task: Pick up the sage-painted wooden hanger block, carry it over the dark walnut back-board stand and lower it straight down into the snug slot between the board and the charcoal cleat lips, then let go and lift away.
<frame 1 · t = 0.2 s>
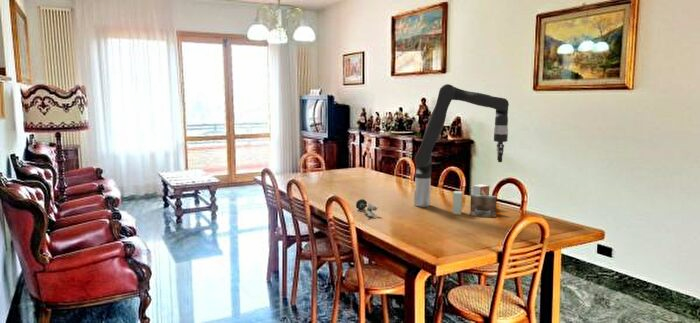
hand: (499, 161, 274), 29 cm above the table, tool pointing down, fingers open, 8 cm apart
hanger block: (457, 212, 271), on the table
small box: (480, 207, 287), on the table
artificial flower: (367, 214, 270), on the table
cleat stand: (482, 214, 267), on the table
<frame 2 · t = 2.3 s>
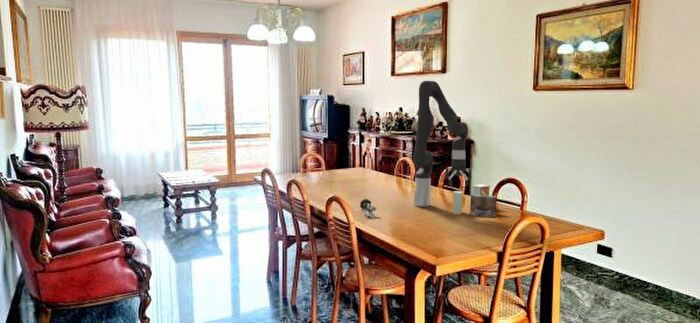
hand: (458, 186, 269), 15 cm above the table, tool pointing down, fingers open, 8 cm apart
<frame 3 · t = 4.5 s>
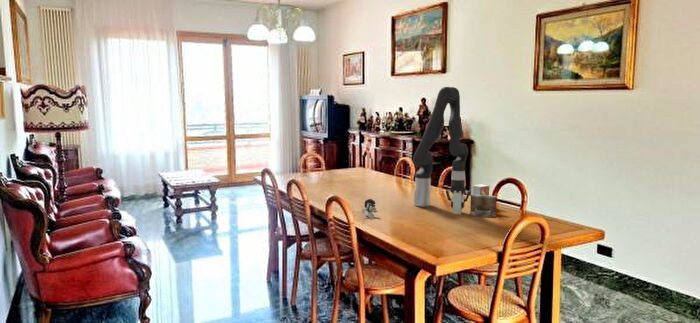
hand: (457, 207, 271), 3 cm above the table, tool pointing down, fingers closed on hanger block, 4 cm apart
hanger block: (457, 212, 271), on the table, touching gripper
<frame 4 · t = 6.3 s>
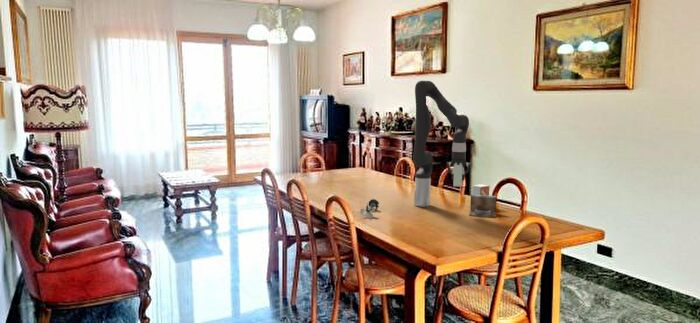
hand: (458, 180, 269), 19 cm above the table, tool pointing down, fingers closed on hanger block, 4 cm apart
hanger block: (457, 185, 269), point 16 cm above the table, touching gripper
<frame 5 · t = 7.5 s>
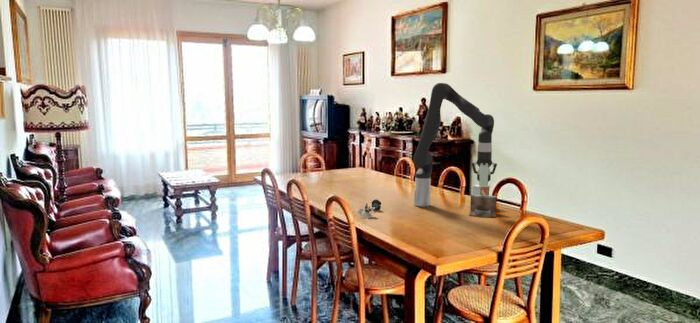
hand: (483, 181, 264), 19 cm above the table, tool pointing down, fingers closed on hanger block, 4 cm apart
hanger block: (483, 186, 265), point 16 cm above the table, touching gripper
when the fingers open (5 cm above the table, at t = 10.3 s): hanger block drops 2 cm, resting on cleat stand.
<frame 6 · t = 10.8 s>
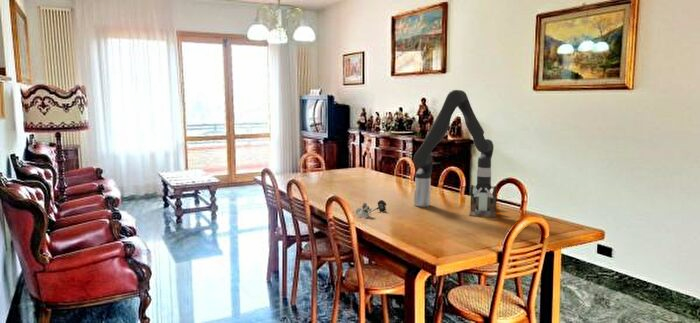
hand: (483, 203, 266), 6 cm above the table, tool pointing down, fingers open, 8 cm apart
hanger block: (482, 213, 267), point 1 cm above the table, touching cleat stand
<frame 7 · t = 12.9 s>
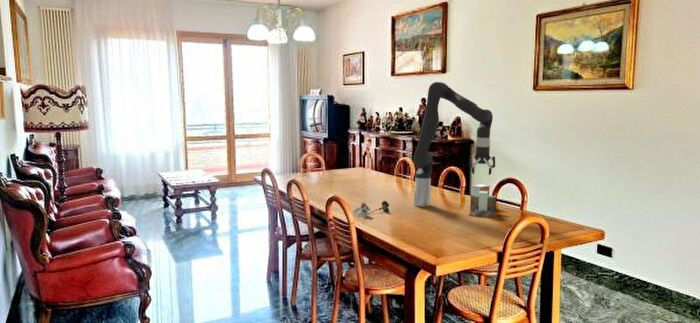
hand: (481, 174, 266), 23 cm above the table, tool pointing down, fingers open, 8 cm apart
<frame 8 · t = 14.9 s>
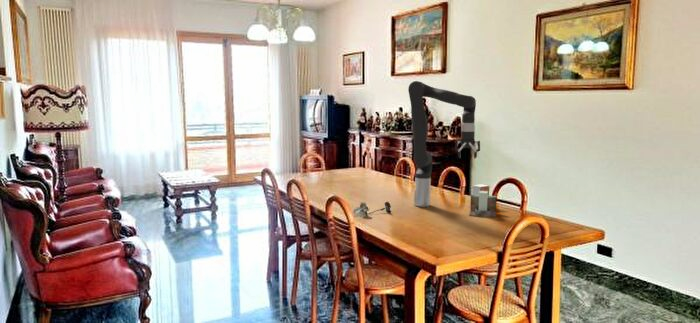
hand: (467, 158, 277), 30 cm above the table, tool pointing down, fingers open, 8 cm apart
at the end: hanger block 0.0 cm off-centre on the cleat stand, point 0.8 cm above the cleat stand's base; hanger block tilted 0°; the gripper is holding nothing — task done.
